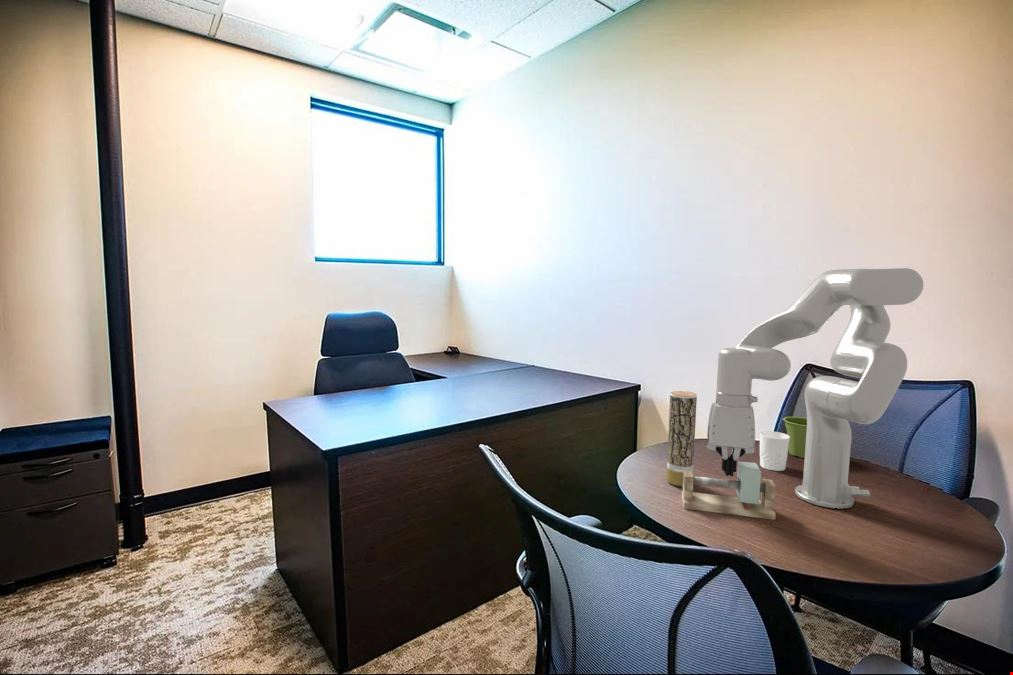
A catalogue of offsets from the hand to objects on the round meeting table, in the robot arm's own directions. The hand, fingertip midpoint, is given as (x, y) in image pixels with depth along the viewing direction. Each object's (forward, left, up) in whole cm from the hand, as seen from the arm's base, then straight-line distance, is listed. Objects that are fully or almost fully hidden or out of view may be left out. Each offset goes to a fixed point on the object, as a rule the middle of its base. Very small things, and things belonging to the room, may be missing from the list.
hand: (728, 473), depth 118 cm
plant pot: (-30, -49, -9) cm, 58 cm away
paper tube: (+10, -13, -9) cm, 19 cm away
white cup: (-18, -34, -9) cm, 39 cm away
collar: (-5, 0, -6) cm, 7 cm away
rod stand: (0, 0, -9) cm, 9 cm away
